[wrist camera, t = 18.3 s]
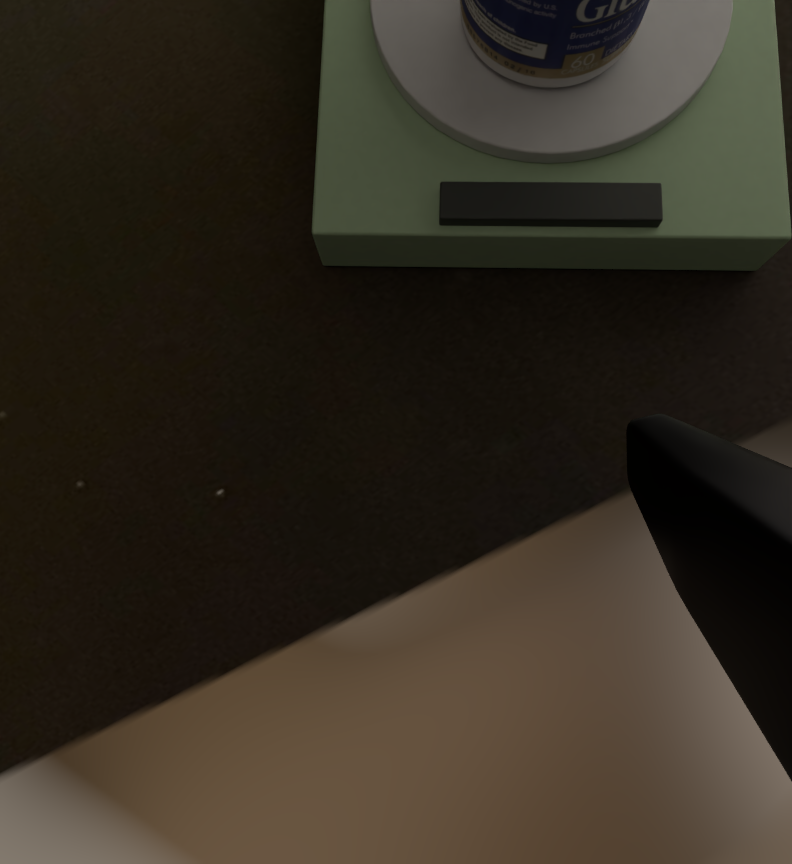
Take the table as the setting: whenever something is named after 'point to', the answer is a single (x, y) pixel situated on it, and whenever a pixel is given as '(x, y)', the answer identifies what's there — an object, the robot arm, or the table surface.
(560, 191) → the scale
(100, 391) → the table surface
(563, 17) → the pill bottle
